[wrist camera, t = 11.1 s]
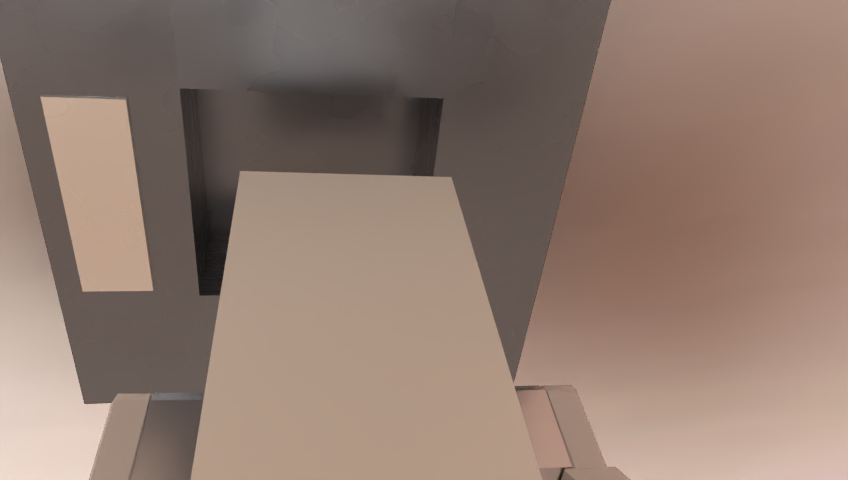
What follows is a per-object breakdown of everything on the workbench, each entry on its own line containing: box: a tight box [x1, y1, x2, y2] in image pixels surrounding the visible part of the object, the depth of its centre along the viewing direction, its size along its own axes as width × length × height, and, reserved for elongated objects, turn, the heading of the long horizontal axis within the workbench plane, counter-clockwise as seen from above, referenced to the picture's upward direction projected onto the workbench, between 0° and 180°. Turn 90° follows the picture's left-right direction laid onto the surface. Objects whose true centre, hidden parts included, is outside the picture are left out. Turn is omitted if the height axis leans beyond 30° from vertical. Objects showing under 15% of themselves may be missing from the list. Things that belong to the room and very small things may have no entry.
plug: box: [191, 171, 542, 480], centre depth 11 cm, size 4×4×9 cm
